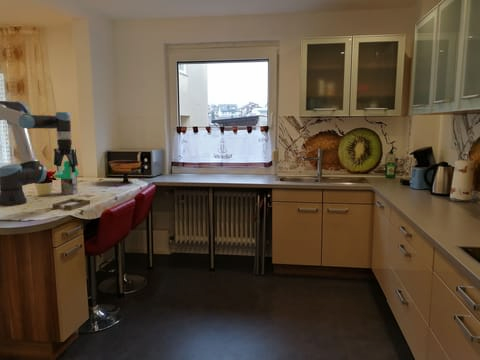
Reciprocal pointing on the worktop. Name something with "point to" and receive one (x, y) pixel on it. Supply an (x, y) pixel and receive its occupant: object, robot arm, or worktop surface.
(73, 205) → the pocket tray
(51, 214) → the worktop surface
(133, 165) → the footed fruit bowl
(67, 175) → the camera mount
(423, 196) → the worktop surface
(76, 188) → the coffee box
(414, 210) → the worktop surface
